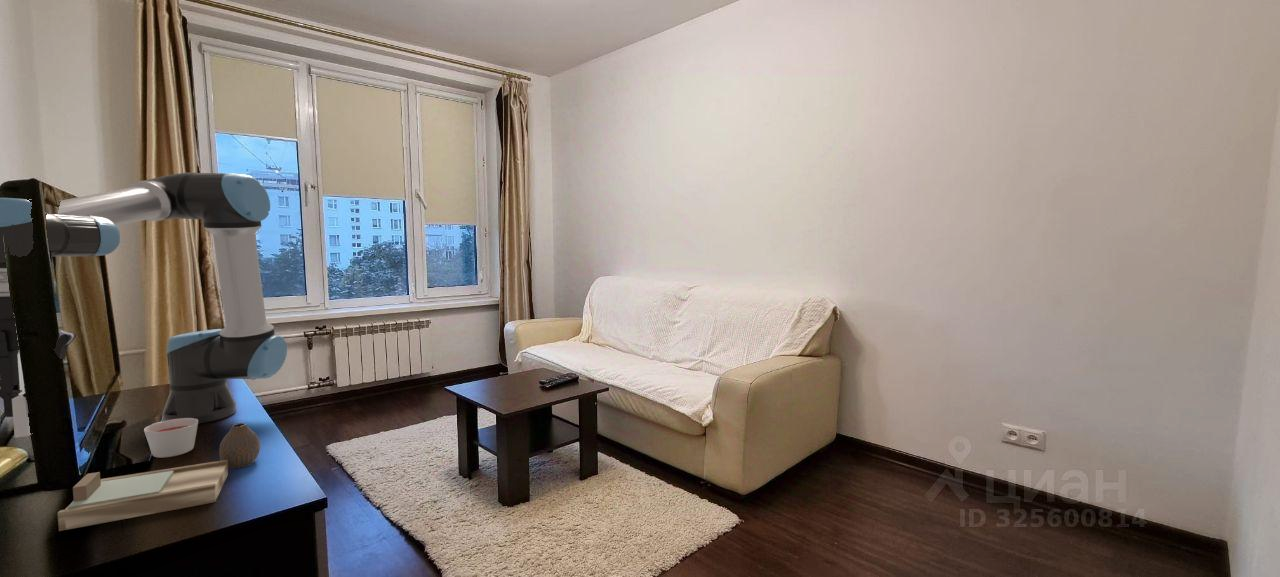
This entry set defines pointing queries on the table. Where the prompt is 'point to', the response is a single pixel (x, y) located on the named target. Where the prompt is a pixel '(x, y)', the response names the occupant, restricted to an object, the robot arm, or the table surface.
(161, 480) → the lid
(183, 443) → the candle
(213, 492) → the wooden box
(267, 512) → the table surface
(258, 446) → the vase
